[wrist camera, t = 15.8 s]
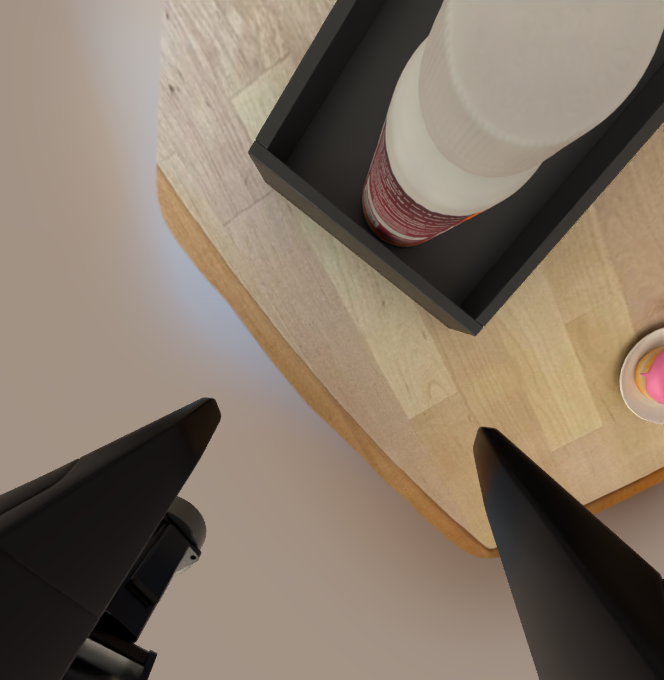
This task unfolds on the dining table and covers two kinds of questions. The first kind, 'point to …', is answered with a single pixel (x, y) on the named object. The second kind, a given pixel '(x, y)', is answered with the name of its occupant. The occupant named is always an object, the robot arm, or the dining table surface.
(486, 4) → the pill bottle
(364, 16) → the tray
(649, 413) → the donut
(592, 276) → the dining table surface
